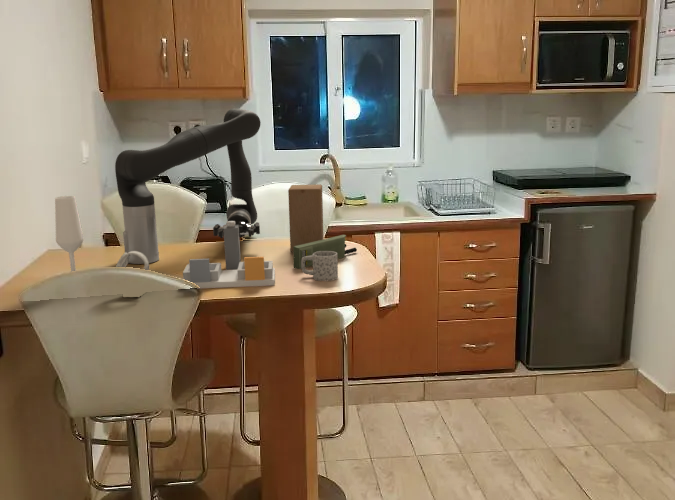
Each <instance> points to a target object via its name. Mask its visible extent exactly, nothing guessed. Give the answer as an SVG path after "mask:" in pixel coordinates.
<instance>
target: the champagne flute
mask: <svg viewBox="0 0 675 500" xmlns="http://www.w3.org/2000/svg"><path fill="white" fill-rule="evenodd" d="M54 205H55V206H54V207H55V208H54V209H55V212H54V214H55V219H54V220H55V243H56V244H57V245H58V246H59V248H61V249H62V250H63V251H65V252H67V253H68V257H69V264H70V273H71V272H72V271H76V272H77V270H76V259H75V252H76V251H77V250H78V249H79V248H80V247H81V246H82V244H83V243H84V239H85V238H84V233H83V228H82V223H81V219H80V215H79V209H78V204H77V200H76V196H75V195H64V196H56V197H55V198H54Z"/></svg>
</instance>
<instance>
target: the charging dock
mask: <svg viewBox="0 0 675 500" xmlns="http://www.w3.org/2000/svg"><path fill="white" fill-rule="evenodd" d="M243 259H244V261H241V262H239V266H238V270H226V269H224V270H223V269H222V263H221V262H210V258H192V259H189V260H188V262H189V263H186V266H185V268H184V270H183V271H182V280H183V279H185V280H188V281H190V282H193V283H195V284H196V285H198V286H199V287H200V288H199V289H213V288H215V289H217V288H242V287H244V288H245V287H264V286H275V285H276V283H275V282H276V268H275V267H274V264H273V263H274V262H273V261H274V260H265V256H245V257H243Z"/></svg>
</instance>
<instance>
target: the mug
mask: <svg viewBox="0 0 675 500" xmlns="http://www.w3.org/2000/svg"><path fill="white" fill-rule="evenodd" d="M306 260H313V265H312V270H308V269H306V267H305V261H306ZM338 263H339V262H338V259H337V253H336V252H333V251H319V252H315V253H313V255H312V256H305V257H303V258H302V260H301V271H302V273H304V274H305V275H309V276H312V279H313V280H315V281H318V282H331V281H335V280H337V279H338V278H339V273H338V272H339V269H338Z"/></svg>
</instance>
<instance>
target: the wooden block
mask: <svg viewBox="0 0 675 500" xmlns="http://www.w3.org/2000/svg"><path fill="white" fill-rule="evenodd" d="M287 193H288V217H289V218H288V219H289V244H290V245H289V247H290V249H289V250H290V252H291V253H293V247H294V246H298V245H302V244H306V243H311V242H315V241H319V240H323V239H324V212H323V211H324V209H323V208H324V207H323V185H322V184H320V183H319V184H292V185H290V187H289V188H288V190H287Z"/></svg>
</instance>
